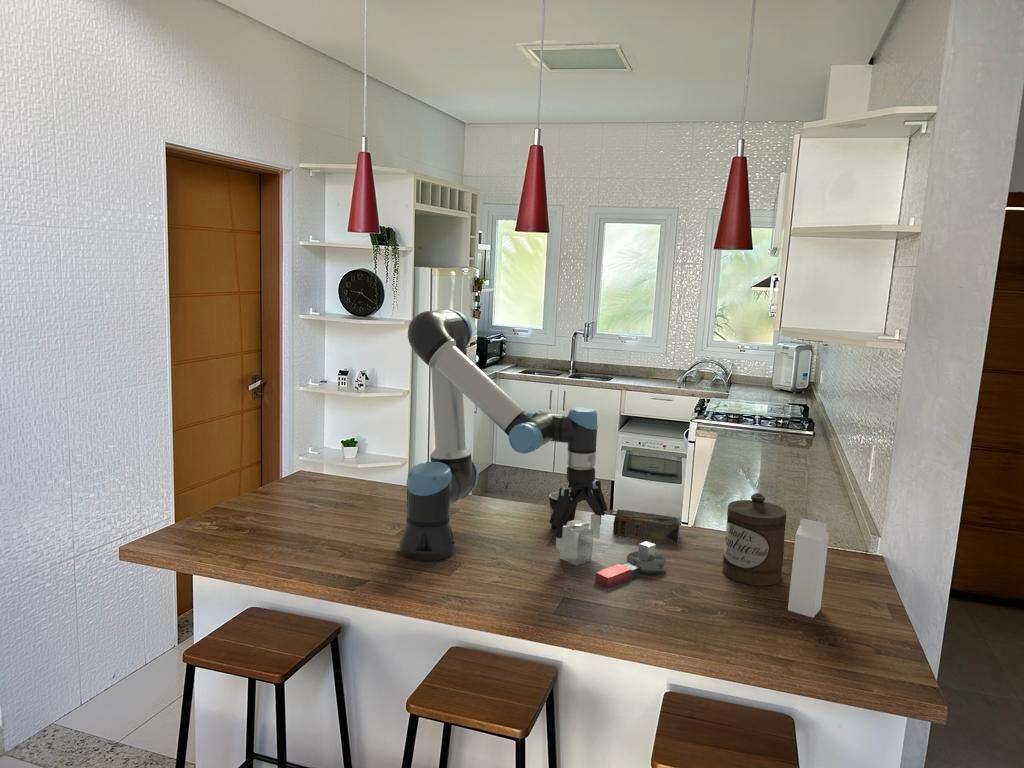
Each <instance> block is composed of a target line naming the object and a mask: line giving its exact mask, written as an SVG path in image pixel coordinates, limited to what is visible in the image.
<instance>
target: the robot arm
mask: <svg viewBox="0 0 1024 768" xmlns="http://www.w3.org/2000/svg"><path fill="white" fill-rule="evenodd" d="M471 324H472V323H471V321H470V320H469V319H468V317H467V316H466V315H465V314H463V312H460V311H459V310H455V309H447V308H445V309H437V310H427V311H423V312H420V313H418V314H416V316H414V317H413V318H412V320H411V321H410V323H409V324H408V328H407V340H408V343H409V346H410V347H411V349H412V350H413V352H414V353H415V354H416V355H417V356H418V357H419V358H420V359H421V360H422V361H423V362H424V363H425V364H426V365H427V366H428V367H429V368H430V369H431V386H432V387H431V389H432V390H431V391H432V392H431V393H432V407H433V409H432V410H433V425H434V426H433V427H434V428H433V429H434V446H435V448H434V449H433V451H432V452H431V453H430V461H426V462H425V463H424V462H420V463H417V464H415V465H414V466H411V468H410V469H409V470H408V473H407V480H406V523H405V526H404V529H403V533H402V536H401V539H400V541H399V548H398V549H399V553H400V555H402V556H403V557H404V558H407V559H409V560H413V561H421V562H432V561H440V560H445V559H448V558H450V557H452V556H453V555H454V554H455V553H456V540H455V537H454V533H453V531H452V528H451V524H450V520H451V519H450V517H451V505H453V504H454V503H456V502H458V501H460V500H461V499H463V498H465V497H467V496H469V495H470V494H471V492H473V490H474V489H475V488H476V486H477V485H478V481H479V469H478V466H477V464H476V462H474V460H473V459H472V452H471V450H469V449H468V448H467V447H466V430H465V407H464V406H465V405H464V395H465V397H467V398H468V399H469V400H470V402H472V403H473V404H474V405H475V406H476V407H477V408H478V409H479V410H480V411H481V412H482V413H484V414H485V415H486V416H487V417H488V418H489V419H490V420H491V421H492V422H493V423H494V424H495V425H497V426H498V427H499V428H500V430H501V431H503V432H504V433H505V434H506V435H507V436H508V442H509V445H510V446H511V448H512V450H513V451H514V452H517V453H518V454H528V453H529V454H530V453H533V452H535V451H536V450H538V449H540V447H542V446H544V445H546V444H548V443H549V442H554V443H555V442H556V443H564V444H565V443H566V444H567V455H566V456H567V457H566V463H567V464H566V465H567V467H566V480H567V483H568V487H562V486H561V487H559V489H558V492H559V496H558V499H557V502H556V505H555V508H554V510H553V513H552V516H551V515H550V520H549V524H550V525H551V524H553V525H555V530H554V533H555V534H554V536H555V539H556V540H555V548H556V549H558V550H559V551H560V550H563V551H564V550H565V546H566V526H564V524H565V522H566V521H567V519H568V517H569V515H570V513H571V511H572V509H573V508H574V506H575V505H577V506H578V504H579V503H580V502H583V501H586V503H587V504H588V506H589V507H590V509H591V511H592V512H593V513H590V528H593V539H597V540H599V539H600V536H601V535H600V533H601V531H600V530H601V524H602V516H605V514H606V511H607V510H608V506H607V502H606V500H605V497H604V493H603V491H602V486H601V484H602V483H601V480H598V479H596V468H595V466H596V459H597V439H598V426H599V425H598V413H597V411H596V410H595V409H594V408H591V407H585V406H583V407H580V406H575V407H571V408H570V409H569V410H568V413H567V414H566V413H565V414H564V413H555V412H548V411H546V412H545V411H541V410H539V411H535V410H532V411H528V412H526V411H525V409H524V408H522V407H521V406H520V405H519V404H518V403H517V402H516V401H515V400H514V399H513V398H511V396H510V395H508V394H507V393H506V391H504V390H503V389H502V388H501V387H500V386H499V385H498V384H497V383H496V382H495V381H493V380H492V379H491V378H490V377H489V376H488V375H487V374H486V373H485V372H484V371H483V370H482V369H480V367H478V366H477V364H475V362H473V361H472V360H471V359H470V358H469V357H468V355H467V354H468V353H467V352H468V351H467V346H468V345H469V343H470V342H471V339H472V337H473V327H472V325H471ZM571 498H572V500H571ZM560 521H561V522H560Z"/></svg>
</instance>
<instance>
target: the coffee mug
mask: <svg viewBox="0 0 1024 768" xmlns="http://www.w3.org/2000/svg"><path fill="white" fill-rule="evenodd" d="M558 496H559V491H556V492H551V493H549V496H548V497H549V499H548V500H549V513H550V517H551V516H552V513H553V510H554V508H555V505H556V502H557V499H558ZM571 500H572V498H571ZM577 506H578V504H577V505H575V506H574V508H573V509H572V511H571V513H570V515H569V517H568V519H567V521H566V522H565V524H564V526H567V522H569V521H573V520H575V517H576V511H577ZM560 522H561V521H560ZM550 527H551V529H552V530H553V531H555V525H553V524H550Z"/></svg>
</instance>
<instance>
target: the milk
mask: <svg viewBox="0 0 1024 768" xmlns="http://www.w3.org/2000/svg"><path fill="white" fill-rule="evenodd" d="M827 529H828V524H827V523H824V522H820V521H815V520H810V519H806V518H800V522H799V526H798V529H797V530H796V533H795V539H794V547H793V557H792V567H791V568H792V569H791V578H790V583H789V584H790V586H789V595H788V605H787V610H788V611H789V612H793V613H795V614H799V615H802V616H805V617H809V618H814V617H815V616H817V614H818V613H819V611H820V610H821V608H822V607H821V606H822V598H823V591H824V590H823V589H824V582H825V572H826V565H827V555H828V545H829V537H830V534H829V532H828V530H827Z"/></svg>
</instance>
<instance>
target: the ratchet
mask: <svg viewBox="0 0 1024 768" xmlns="http://www.w3.org/2000/svg"><path fill="white" fill-rule="evenodd" d="M666 562H667V561H666V558H665V557H664V556H662V555H660V554H659V553H656V544H655V543H652V542H651V541H648V540H645V541H643V542H641V543H639V544H638V551H633V552H630V553H629V554H627V557H626V563H624V564H619V563H617V564H614V565H612V566H609V567H606V568H603V569H602V570H599V571H596V572H595V575H594V583H595V584H598V585H600V586H603V587H604V588H607V589H608V588H611V587H615V586H616V585H619V584H621V583H624V582H626V581H629V580H631V579H632V578H634V577H637V576H639V575H643V576H657V575H661V574H663V573H665V570H666Z"/></svg>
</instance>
